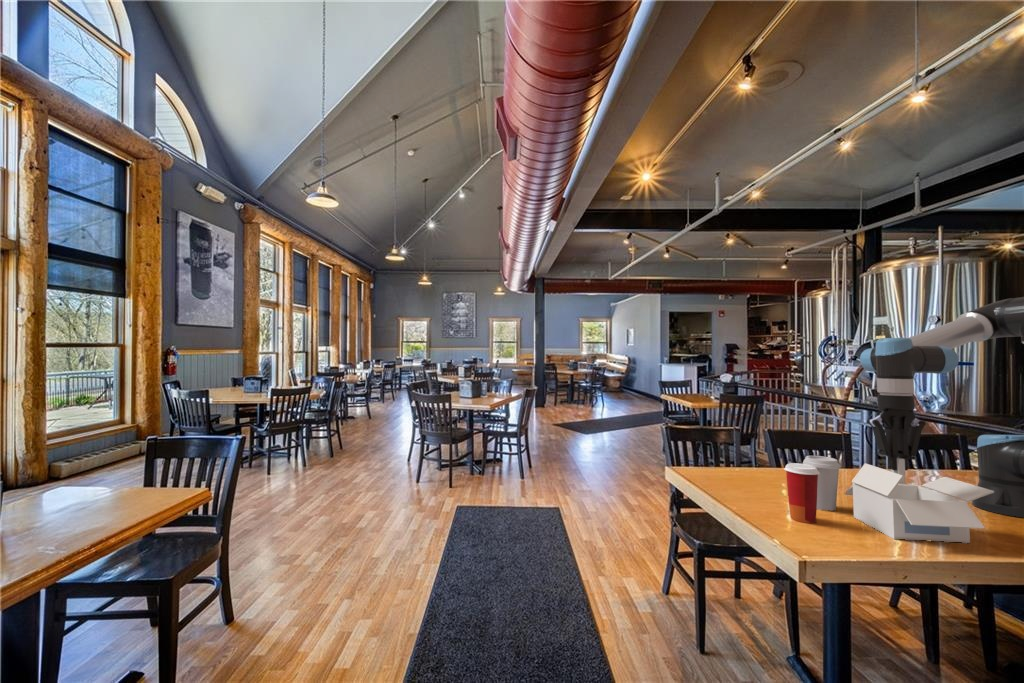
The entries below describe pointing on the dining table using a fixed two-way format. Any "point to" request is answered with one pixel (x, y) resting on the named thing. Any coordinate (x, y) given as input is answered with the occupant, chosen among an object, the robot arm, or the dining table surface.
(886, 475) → the flap
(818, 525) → the dining table surface
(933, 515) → the white carton
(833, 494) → the coffee cup
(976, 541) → the dining table surface
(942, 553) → the dining table surface
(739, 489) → the dining table surface
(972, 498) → the flap
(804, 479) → the coffee cup
